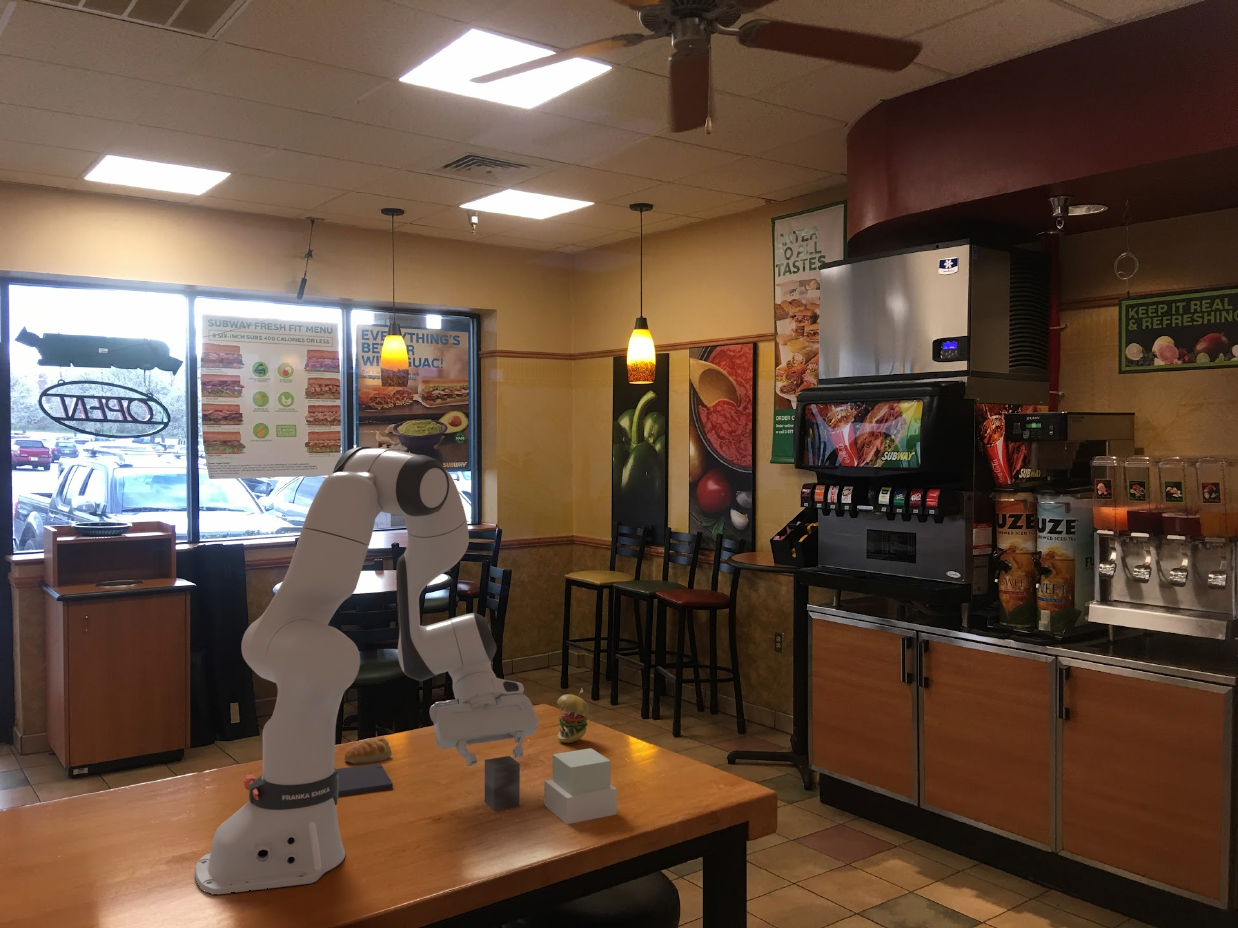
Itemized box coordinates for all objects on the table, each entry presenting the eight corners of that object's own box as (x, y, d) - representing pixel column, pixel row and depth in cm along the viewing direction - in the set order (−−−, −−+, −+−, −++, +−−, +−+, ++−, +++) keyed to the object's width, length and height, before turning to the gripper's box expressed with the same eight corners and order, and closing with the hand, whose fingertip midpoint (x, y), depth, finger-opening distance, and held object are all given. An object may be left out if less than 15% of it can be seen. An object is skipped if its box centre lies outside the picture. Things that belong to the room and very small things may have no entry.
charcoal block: (494, 810, 179) (494, 767, 179) (484, 801, 183) (484, 759, 183) (519, 806, 181) (519, 763, 181) (509, 797, 186) (509, 755, 186)
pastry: (353, 768, 202) (353, 749, 202) (338, 760, 207) (338, 742, 207) (394, 758, 208) (394, 740, 208) (378, 751, 213) (378, 733, 213)
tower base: (567, 825, 173) (567, 798, 173) (544, 806, 182) (544, 780, 182) (616, 815, 178) (617, 788, 178) (592, 797, 187) (592, 771, 187)
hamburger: (551, 737, 222) (552, 685, 222) (581, 734, 225) (581, 682, 225) (563, 747, 215) (563, 693, 215) (593, 744, 218) (594, 690, 218)
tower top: (570, 794, 175) (570, 767, 174) (552, 780, 182) (552, 754, 182) (610, 787, 178) (610, 760, 178) (591, 774, 185) (591, 748, 185)
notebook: (277, 807, 181) (392, 791, 190) (277, 799, 181) (392, 783, 190) (271, 784, 193) (380, 770, 201) (271, 776, 193) (380, 762, 201)
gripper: (430, 694, 186) (447, 760, 178) (529, 682, 196) (549, 744, 188) (423, 711, 190) (439, 777, 182) (521, 698, 200) (540, 760, 192)
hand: (496, 760), depth 185 cm, fingers open, 8 cm apart
